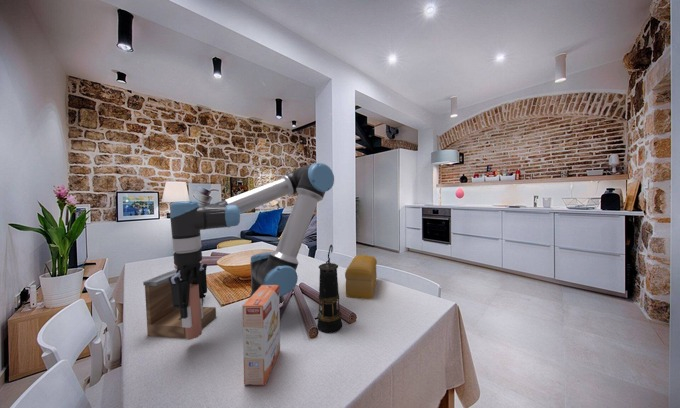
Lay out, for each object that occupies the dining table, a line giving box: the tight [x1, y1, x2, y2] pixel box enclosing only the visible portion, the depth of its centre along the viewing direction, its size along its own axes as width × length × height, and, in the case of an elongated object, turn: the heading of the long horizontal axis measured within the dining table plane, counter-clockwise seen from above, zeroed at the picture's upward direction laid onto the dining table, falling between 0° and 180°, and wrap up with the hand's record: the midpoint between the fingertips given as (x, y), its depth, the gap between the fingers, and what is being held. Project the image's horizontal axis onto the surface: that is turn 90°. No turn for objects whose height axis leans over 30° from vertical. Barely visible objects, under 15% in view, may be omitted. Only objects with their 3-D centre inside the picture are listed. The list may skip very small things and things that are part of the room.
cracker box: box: [241, 285, 281, 386], centre depth 67 cm, size 14×6×21 cm, turn 178°
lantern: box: [314, 244, 343, 334], centre depth 87 cm, size 9×9×30 cm
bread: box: [344, 254, 378, 300], centre depth 121 cm, size 24×13×15 cm, turn 167°
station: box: [142, 268, 217, 339], centre depth 89 cm, size 16×15×19 cm
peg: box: [183, 284, 203, 340], centre depth 76 cm, size 4×4×16 cm
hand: (193, 322), depth 77 cm, fingers closed on peg, 4 cm apart
